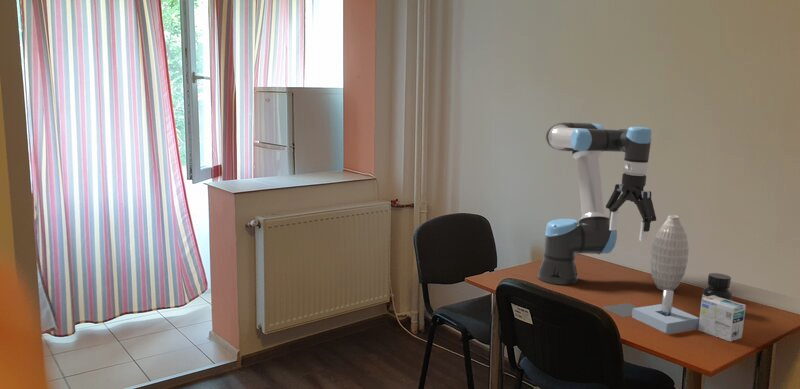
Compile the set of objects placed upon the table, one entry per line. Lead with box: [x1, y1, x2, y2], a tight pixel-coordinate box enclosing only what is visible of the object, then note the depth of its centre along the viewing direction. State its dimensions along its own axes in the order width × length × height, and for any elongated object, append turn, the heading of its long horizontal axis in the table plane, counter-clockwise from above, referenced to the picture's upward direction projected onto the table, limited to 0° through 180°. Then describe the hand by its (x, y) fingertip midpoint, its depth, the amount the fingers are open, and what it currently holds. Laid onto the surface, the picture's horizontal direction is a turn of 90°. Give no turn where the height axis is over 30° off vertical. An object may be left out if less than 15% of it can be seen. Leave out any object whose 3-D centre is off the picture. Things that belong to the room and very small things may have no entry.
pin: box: [661, 289, 675, 316], centre depth 198 cm, size 3×3×11 cm
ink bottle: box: [701, 272, 733, 301], centre depth 213 cm, size 10×9×12 cm
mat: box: [601, 302, 638, 318], centre depth 209 cm, size 10×12×1 cm
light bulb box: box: [697, 295, 747, 342], centre depth 190 cm, size 11×7×11 cm, turn 33°
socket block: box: [631, 303, 700, 335], centre depth 198 cm, size 14×14×4 cm
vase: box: [650, 214, 689, 291], centre depth 232 cm, size 13×13×28 cm
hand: (627, 235), depth 211 cm, fingers open, 13 cm apart
